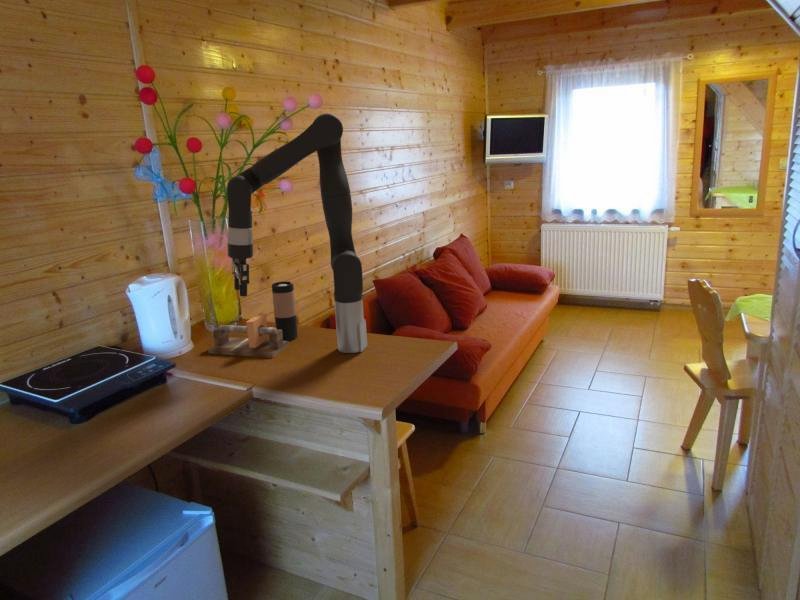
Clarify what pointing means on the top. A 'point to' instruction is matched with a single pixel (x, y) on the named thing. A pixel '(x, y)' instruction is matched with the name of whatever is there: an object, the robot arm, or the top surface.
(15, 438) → the top surface
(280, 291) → the travel mug
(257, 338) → the light wood square slab
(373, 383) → the top surface
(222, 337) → the rod stand
